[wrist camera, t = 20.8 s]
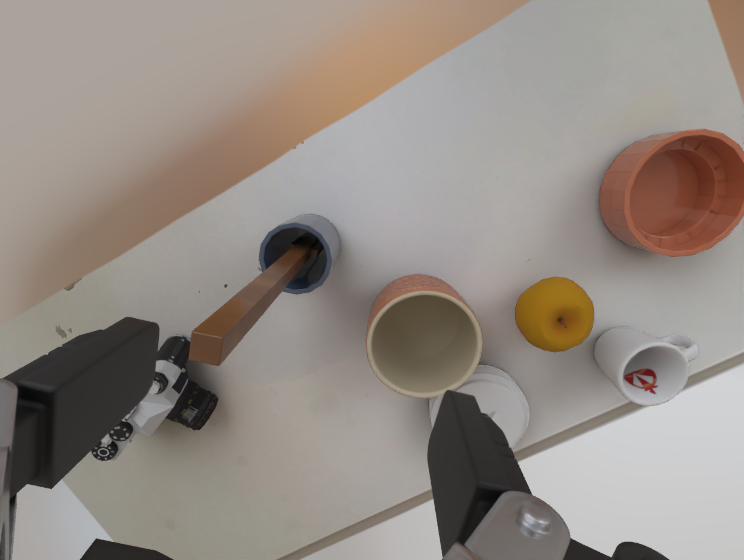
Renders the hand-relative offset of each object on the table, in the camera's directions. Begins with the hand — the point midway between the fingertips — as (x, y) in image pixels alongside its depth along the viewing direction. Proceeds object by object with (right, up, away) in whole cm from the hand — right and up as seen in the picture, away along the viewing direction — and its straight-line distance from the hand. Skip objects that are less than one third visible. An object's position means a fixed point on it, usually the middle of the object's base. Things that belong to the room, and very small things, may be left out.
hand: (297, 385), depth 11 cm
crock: (-6, +7, +41) cm, 42 cm away
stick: (-6, +7, +40) cm, 41 cm away
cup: (+36, -5, +43) cm, 56 cm away
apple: (+23, 0, +42) cm, 48 cm away
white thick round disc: (+16, -14, +46) cm, 51 cm away
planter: (+8, -1, +43) cm, 44 cm away
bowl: (+36, +13, +38) cm, 54 cm away
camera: (-24, -12, +46) cm, 54 cm away
